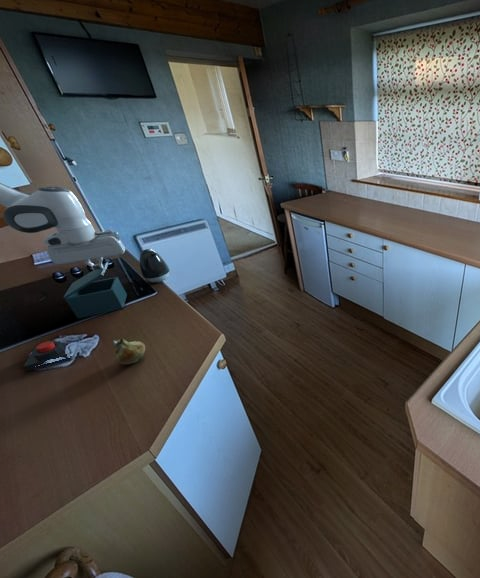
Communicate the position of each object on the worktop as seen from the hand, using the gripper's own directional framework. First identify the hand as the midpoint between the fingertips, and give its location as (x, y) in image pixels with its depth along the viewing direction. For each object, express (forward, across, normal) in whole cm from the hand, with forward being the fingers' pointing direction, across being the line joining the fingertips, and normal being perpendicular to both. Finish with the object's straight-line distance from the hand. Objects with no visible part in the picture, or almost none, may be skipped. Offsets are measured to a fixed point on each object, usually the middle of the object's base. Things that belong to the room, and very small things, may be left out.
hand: (98, 268), depth 111 cm
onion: (+16, -10, +42) cm, 46 cm away
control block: (+16, +12, +28) cm, 35 cm away
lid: (+4, +5, 0) cm, 6 cm away
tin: (+16, +4, 0) cm, 16 cm away
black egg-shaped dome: (+16, -14, -14) cm, 26 cm away
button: (+12, +12, +28) cm, 33 cm away
